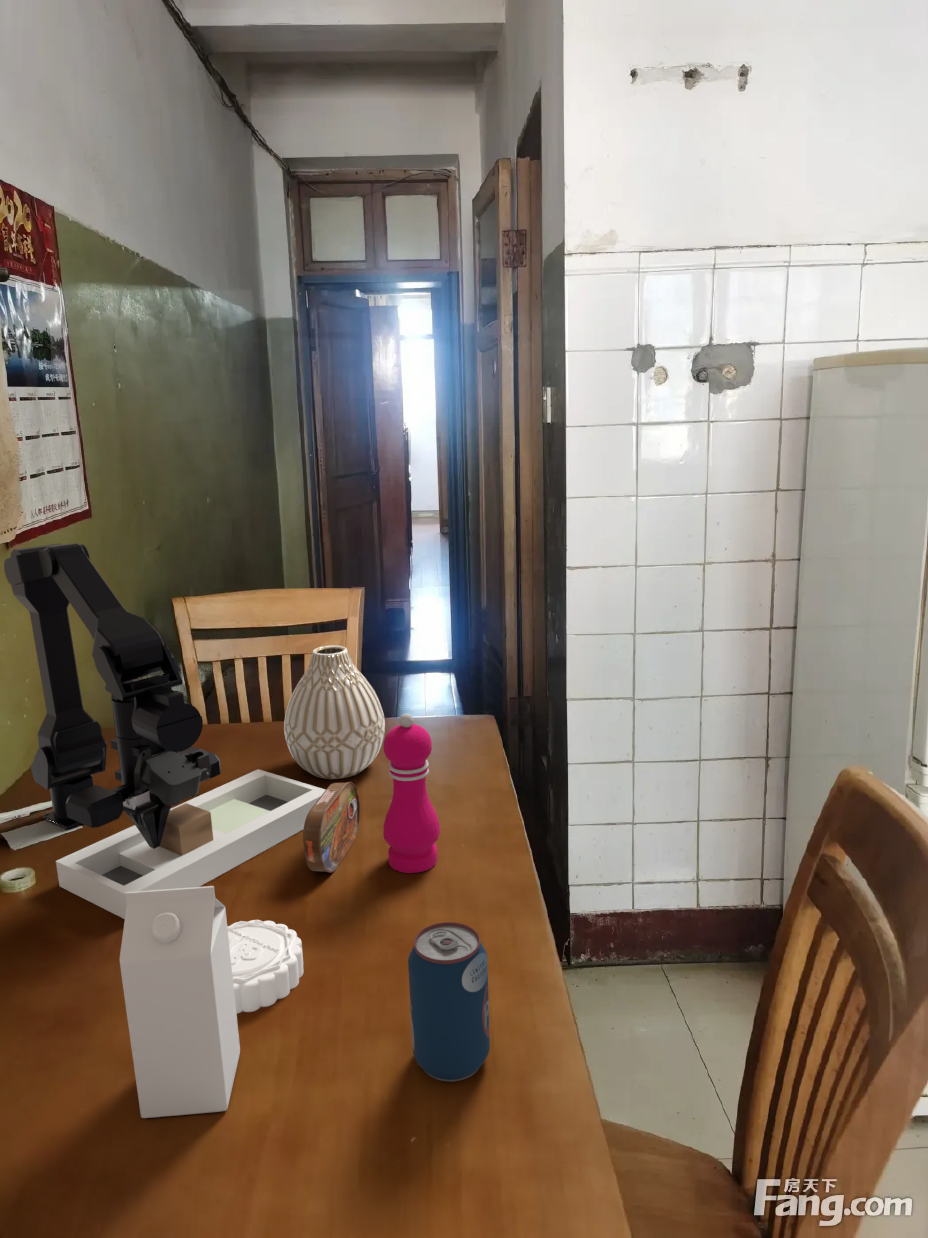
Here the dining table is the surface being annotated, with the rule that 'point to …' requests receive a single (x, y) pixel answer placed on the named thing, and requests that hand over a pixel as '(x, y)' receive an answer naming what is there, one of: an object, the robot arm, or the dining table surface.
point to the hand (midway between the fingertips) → (154, 847)
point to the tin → (331, 827)
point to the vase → (333, 717)
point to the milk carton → (179, 1000)
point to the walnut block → (187, 829)
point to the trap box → (241, 830)
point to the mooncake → (263, 962)
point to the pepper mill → (410, 800)
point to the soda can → (449, 1001)
